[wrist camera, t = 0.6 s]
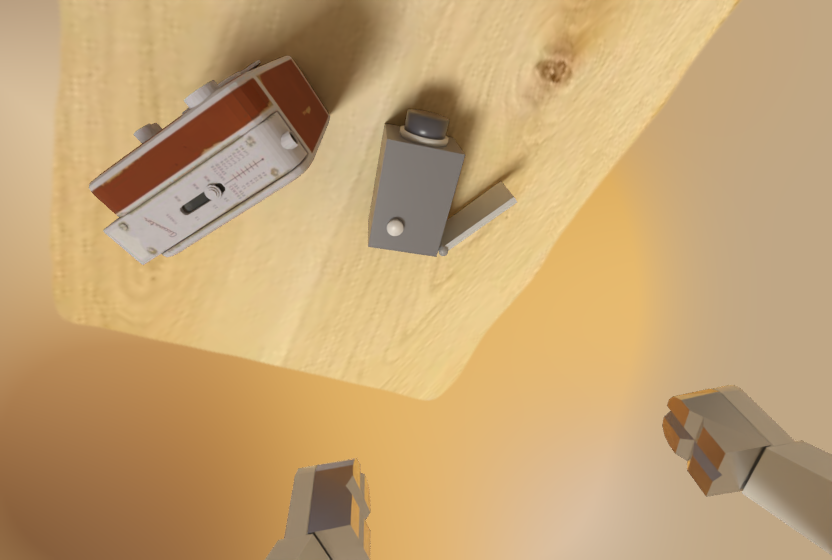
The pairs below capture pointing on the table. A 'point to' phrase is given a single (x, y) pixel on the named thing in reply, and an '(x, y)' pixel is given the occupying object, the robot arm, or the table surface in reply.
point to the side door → (475, 216)
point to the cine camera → (213, 159)
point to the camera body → (414, 184)
